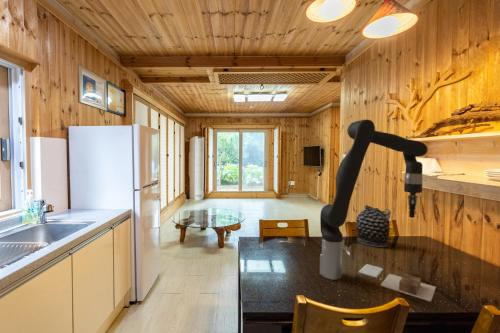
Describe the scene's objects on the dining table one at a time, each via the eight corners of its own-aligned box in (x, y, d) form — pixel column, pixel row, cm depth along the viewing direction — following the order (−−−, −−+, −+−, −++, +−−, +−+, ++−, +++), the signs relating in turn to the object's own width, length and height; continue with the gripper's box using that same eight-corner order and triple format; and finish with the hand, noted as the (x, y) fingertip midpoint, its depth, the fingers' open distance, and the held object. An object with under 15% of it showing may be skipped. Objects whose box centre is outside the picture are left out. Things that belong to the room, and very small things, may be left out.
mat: (380, 286, 110) (380, 285, 110) (389, 274, 121) (389, 273, 121) (430, 303, 98) (430, 301, 98) (435, 288, 109) (436, 286, 109)
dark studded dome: (391, 243, 164) (392, 205, 164) (388, 250, 152) (390, 209, 151) (357, 238, 176) (358, 202, 175) (352, 244, 164) (353, 205, 163)
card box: (404, 281, 113) (399, 290, 106) (404, 273, 113) (399, 281, 106) (420, 286, 109) (416, 295, 102) (420, 278, 109) (416, 286, 102)
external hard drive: (357, 275, 121) (366, 266, 131) (376, 280, 116) (383, 271, 125) (357, 271, 121) (366, 263, 131) (376, 277, 116) (383, 268, 125)
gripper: (404, 181, 134) (403, 213, 134) (404, 183, 122) (402, 218, 123) (421, 182, 130) (420, 215, 130) (423, 184, 118) (421, 221, 119)
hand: (411, 217), depth 127 cm, fingers closed
